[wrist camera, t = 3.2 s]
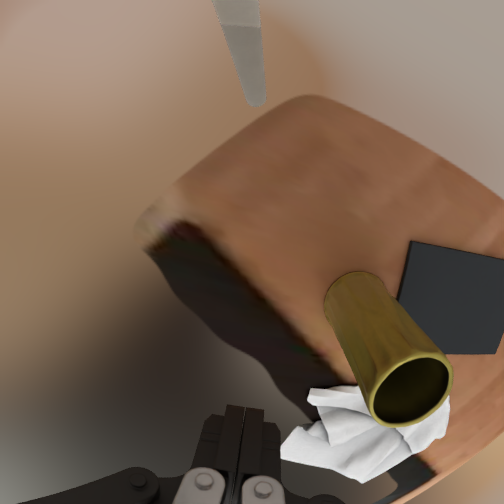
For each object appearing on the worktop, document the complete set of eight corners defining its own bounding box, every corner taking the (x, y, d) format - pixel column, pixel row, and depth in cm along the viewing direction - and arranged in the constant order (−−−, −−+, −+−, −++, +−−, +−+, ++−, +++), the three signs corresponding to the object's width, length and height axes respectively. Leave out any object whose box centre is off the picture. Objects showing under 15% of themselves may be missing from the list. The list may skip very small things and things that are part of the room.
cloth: (460, 427, 31) (467, 437, 29) (321, 499, 35) (322, 511, 32) (420, 320, 28) (429, 330, 26) (238, 421, 32) (236, 435, 29)
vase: (388, 325, 28) (453, 416, 15) (327, 338, 29) (360, 445, 15) (384, 264, 27) (466, 331, 13) (319, 278, 28) (358, 362, 14)
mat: (410, 240, 27) (412, 241, 26) (520, 263, 26) (523, 264, 26) (381, 348, 29) (383, 351, 28) (492, 352, 29) (495, 354, 28)
